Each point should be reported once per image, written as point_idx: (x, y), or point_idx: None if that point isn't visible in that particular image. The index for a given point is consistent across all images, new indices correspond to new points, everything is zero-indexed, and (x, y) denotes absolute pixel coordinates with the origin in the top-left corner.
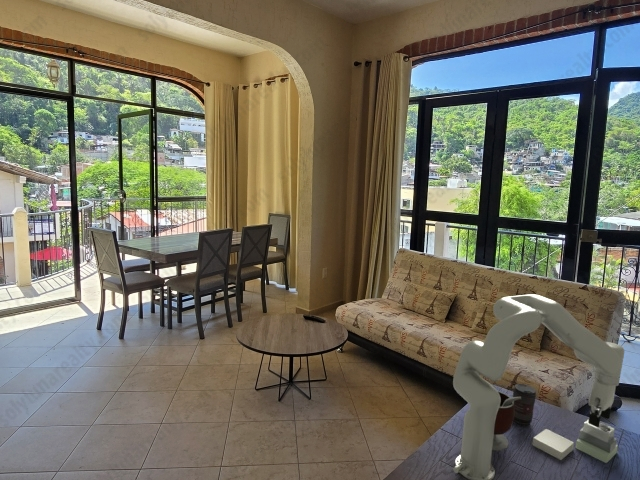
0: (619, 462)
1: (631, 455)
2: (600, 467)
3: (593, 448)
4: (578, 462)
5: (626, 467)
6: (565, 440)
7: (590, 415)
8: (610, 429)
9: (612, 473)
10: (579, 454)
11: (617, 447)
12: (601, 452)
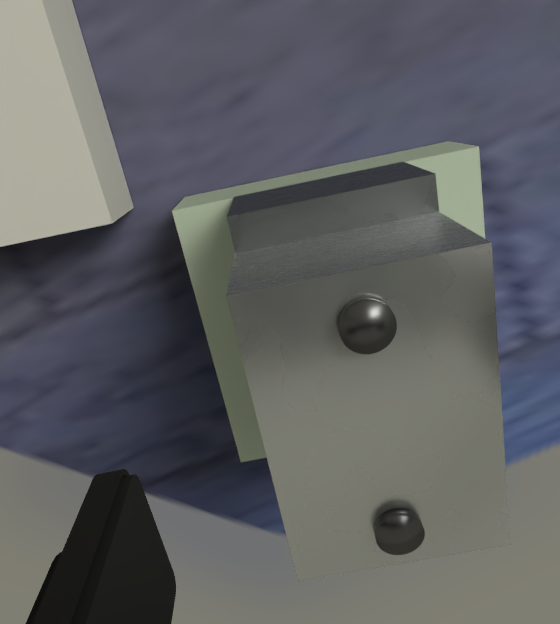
0: None
1: (537, 436)
2: (150, 430)
3: (217, 361)
4: (25, 333)
5: None
6: (43, 159)
7: (48, 622)
8: (426, 537)
9: (173, 493)
10: (133, 272)
11: None
12: (233, 420)
